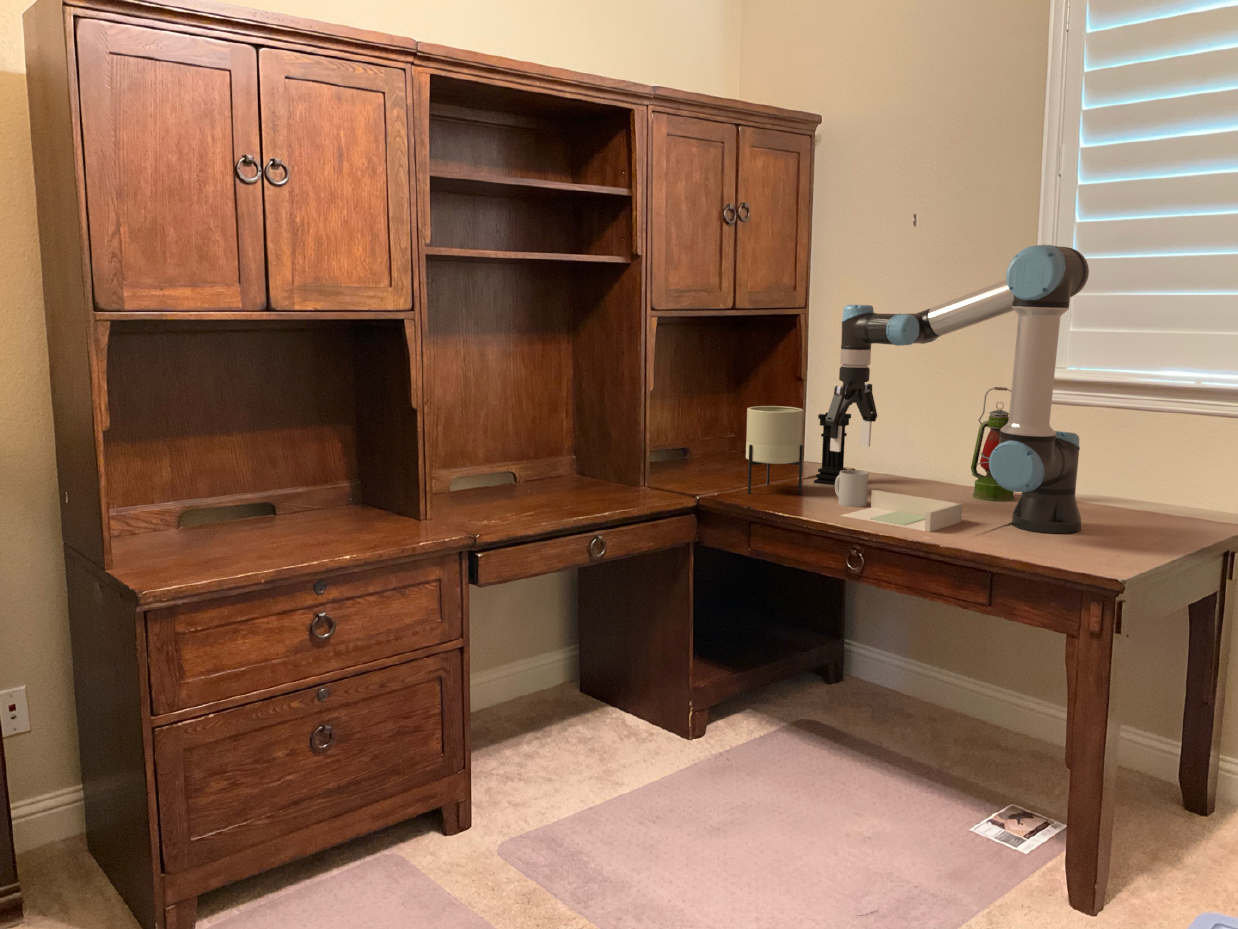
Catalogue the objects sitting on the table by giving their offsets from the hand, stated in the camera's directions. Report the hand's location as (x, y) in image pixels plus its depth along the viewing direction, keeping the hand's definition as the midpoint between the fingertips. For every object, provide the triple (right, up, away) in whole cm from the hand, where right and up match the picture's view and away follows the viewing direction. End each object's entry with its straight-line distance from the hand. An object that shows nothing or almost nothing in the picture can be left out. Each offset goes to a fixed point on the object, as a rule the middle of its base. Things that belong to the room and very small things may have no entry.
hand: (850, 448), depth 263 cm
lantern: (+42, -13, +14) cm, 46 cm away
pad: (+8, -17, -16) cm, 25 cm away
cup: (0, -15, +2) cm, 15 cm away
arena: (+8, -18, -16) cm, 25 cm away
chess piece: (+3, -9, +35) cm, 36 cm away
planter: (-17, -12, +21) cm, 29 cm away
